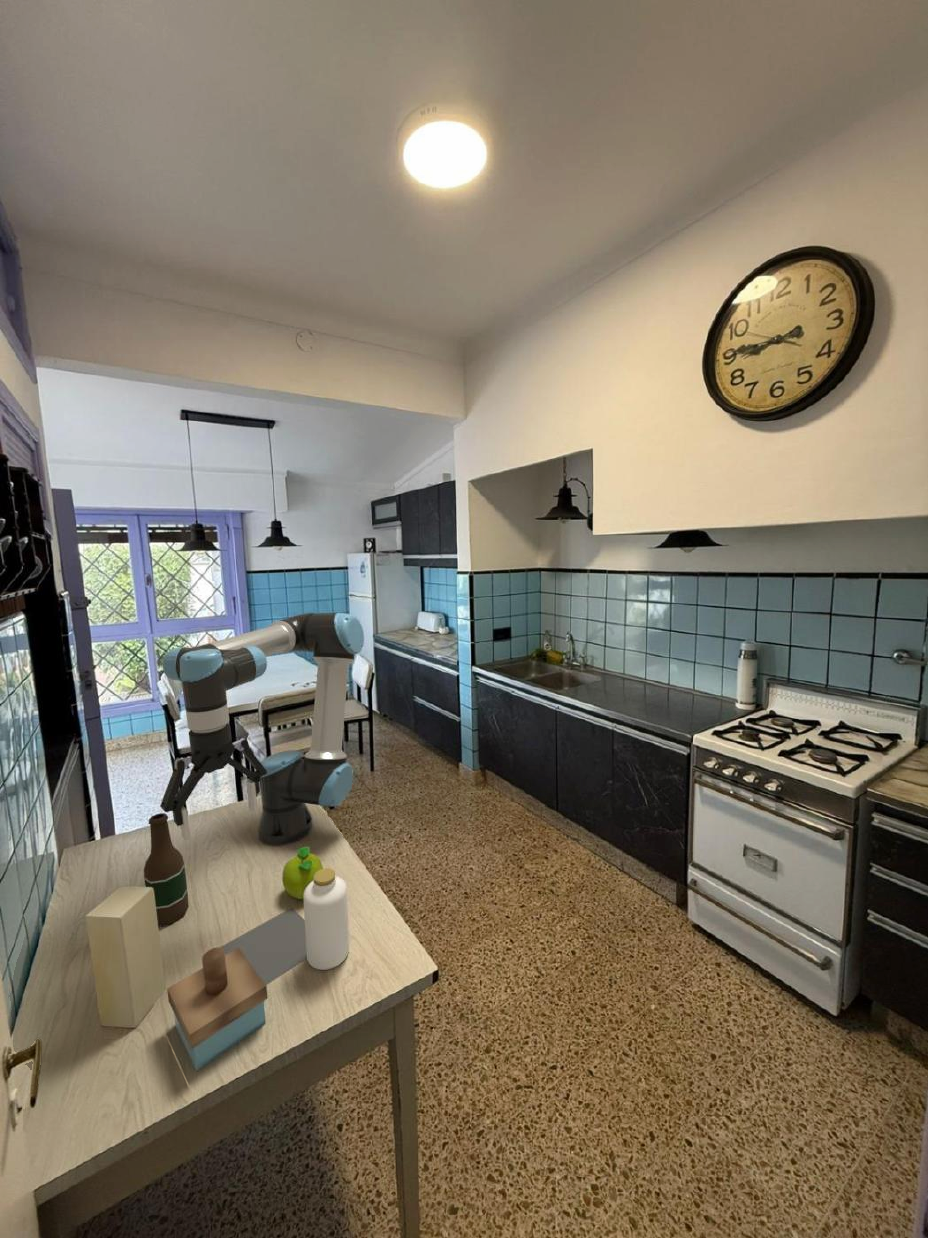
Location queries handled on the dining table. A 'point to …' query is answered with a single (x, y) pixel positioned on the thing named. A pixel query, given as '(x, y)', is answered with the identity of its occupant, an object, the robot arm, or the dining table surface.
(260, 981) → the lid cover
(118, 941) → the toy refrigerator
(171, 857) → the beer bottle
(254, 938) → the mat
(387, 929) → the dining table surface
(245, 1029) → the dish
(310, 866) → the fruit
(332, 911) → the potion bottle
